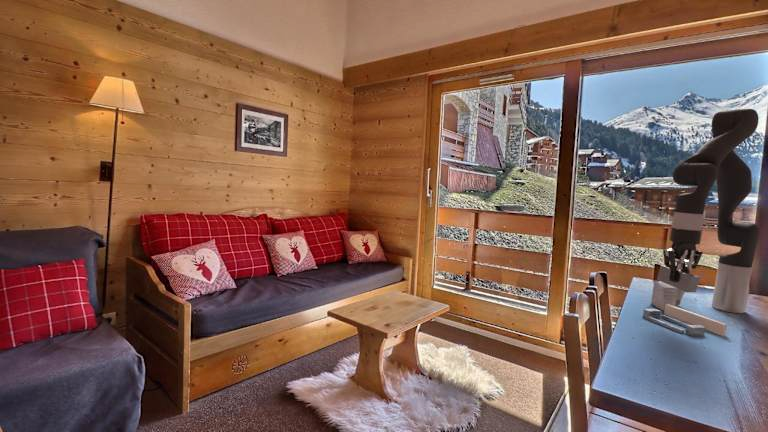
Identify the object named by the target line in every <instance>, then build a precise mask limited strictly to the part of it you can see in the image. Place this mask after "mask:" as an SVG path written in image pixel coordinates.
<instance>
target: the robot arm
mask: <svg viewBox="0 0 768 432" xmlns="http://www.w3.org/2000/svg"><path fill="white" fill-rule="evenodd" d="M758 126H759V114H758V112H757V111H756V109H754V108H739V109H737V108H736V109H729V110H727V109H726V110H720V111H717V112H715V113H714V115H713V116H712V119H711V134H712V135H711V136H712V139H710V140H708V141H707V142H705V143H704V144H703V145H701V147H699V148H698V150H697V151H696V153H694V155H691V156H690V157H687V158H686V159H683V161H681V162H680V163H679V164H678V165H676V167H675V168H674V169H673V172H672V180H673V182H674V183H675V184H677V186H683V187H696V188H695V190H694V191H693V192H688V193H681V194H678V195H677V196H676V197H677V198H676V203H675V210H674V214H673V216H672V217H673V218H672V222H671V228H670V234H669V235H670V236H669V241H670V242H672V244H671V246H670V248H668V249H665V248H664V249H663V250H662V253H663V259H664V265H665V266H666V267H668V268H670V269H671V271H670V277H669V278H670V281H672V282H678V278H679V272H680V271H679V270H683V271H685V272H688V273H690V271H692V270H696V269H697V266H698V265H699V263H700V260H701V258H702V256H703V251H702V250H698V249H697V246H696V245H700V244H701V240H702V233H703V227H704V226H703V225H704V212H705V206H706V202H707V200H708V199H707V198H708V196H709V195H710V192H711V191H712V188H713V187H714V184H715V183H716V191H717V204H718V206H717V208H718V209H717V210H718V212H717V230H716V231H717V232H716V233H717V240H718V242H719V243H720V244H721V245H725V246H731V247H736V248H737V247H738V248H740V250H739V251H738V252H734V253H728V254H721V255H720V256H719V258H718V263H717V264H718V265H717V271H716V276H715V284H714V290H713V293H712V294H713V295H712V300H711V301H712V302H711V307H712V308H714V309H717V310H719V311H723V312H726V313H727V312H728V313H732V314H745V312H747V311H746V309H747V304H748V299H749V294H750V280H751V276H752V275H751V273H752V269H753V263H754V260H755V255H756V251H757V245H758V242H759V238H760V227H759V224H756V223H752V222H745V221H744V222H743V221H736V220H735V221H734V220H733V215H734V212H735V211H736V209H737V208H738V207H739V205H740V204H741V203H742V202H744V201H745V200H746V198H747V197H748V196H749V195H750V193H751V192H752V188H753V184H752V181H753V180H752V176H753V175H752V171H751V168H750V167H749V165H747V163H746V162H745V161H744V160H743V159H742V158H741V157H740V156H739V155H738V154H737V153H736V152H735V151H734V149H736V148H737V147H738V146H739V145H741V144H743V143H744V142H745V141H746V140H747V139H749V138H750V137H751V136H752V135H753V134H754V132H755V131H757V128H758Z"/></svg>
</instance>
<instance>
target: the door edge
mask: <svg viewBox="0 0 768 432" xmlns="http://www.w3.org/2000/svg"><path fill="white" fill-rule="evenodd" d="M663 315H665V316H668V317H670V318H673V319H676V320H678V321H681V322H684V323H686V324H689V325H701V326H703V327H706V328H705V331H708V332H710V333H713V334H716V335H719V336H723V337H725V336H726V335H727V328H728V324H727V323H725V322H721V321H719V320H717V319H713V318H710V317H706V316H703V315H702V314H698V313H696V312H695V313H694V312H693V311H690V310H687V309H684V308H681V307H678V306H672V305H669V304H666V305H665V311H664V313H663Z"/></svg>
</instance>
